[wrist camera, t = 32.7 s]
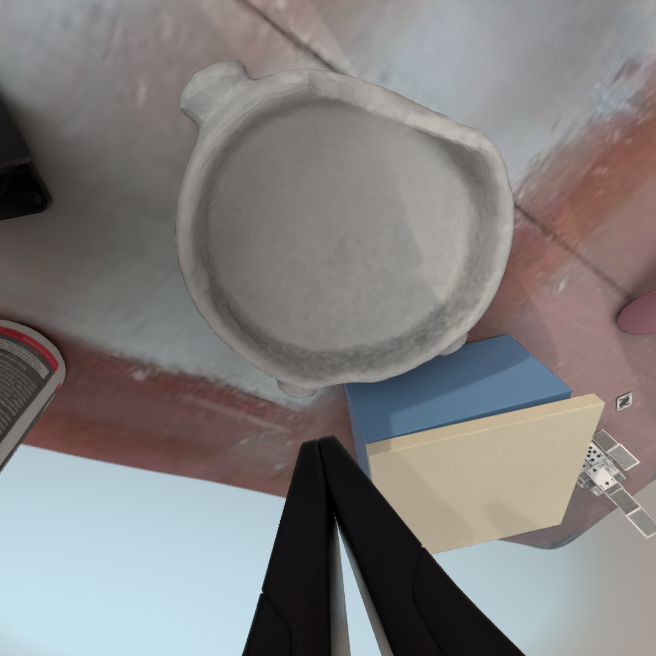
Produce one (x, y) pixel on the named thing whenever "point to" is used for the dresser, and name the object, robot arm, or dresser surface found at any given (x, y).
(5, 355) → the pill bottle
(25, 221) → the dresser surface
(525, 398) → the case
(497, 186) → the dish
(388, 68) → the dresser surface
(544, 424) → the case lid
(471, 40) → the dresser surface
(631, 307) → the video game controller
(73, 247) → the dresser surface
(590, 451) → the house of cards
